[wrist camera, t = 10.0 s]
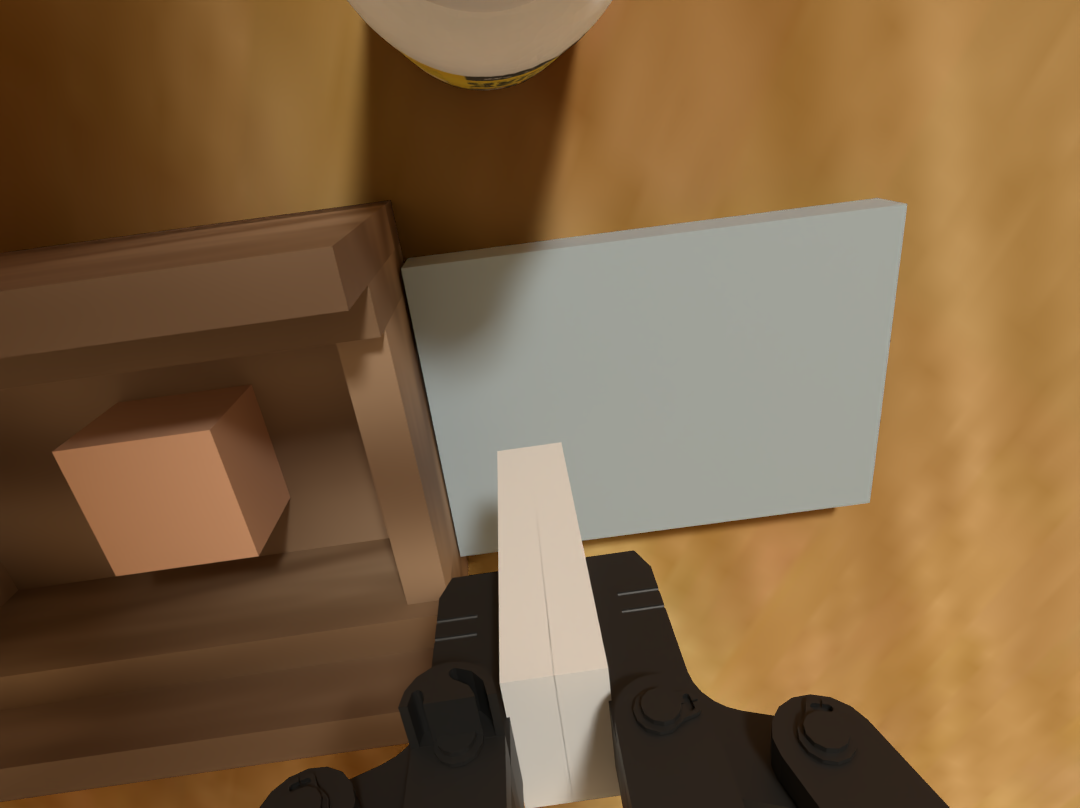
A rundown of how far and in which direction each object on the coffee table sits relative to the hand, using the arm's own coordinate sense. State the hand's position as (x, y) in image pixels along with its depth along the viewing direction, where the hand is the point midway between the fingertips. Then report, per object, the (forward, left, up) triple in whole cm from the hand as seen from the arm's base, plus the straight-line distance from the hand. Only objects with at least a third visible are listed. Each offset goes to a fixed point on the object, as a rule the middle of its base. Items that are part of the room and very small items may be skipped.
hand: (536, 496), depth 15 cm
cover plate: (0, +4, -7) cm, 8 cm away
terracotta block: (0, -10, -5) cm, 11 cm away
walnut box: (0, -11, -6) cm, 13 cm away
